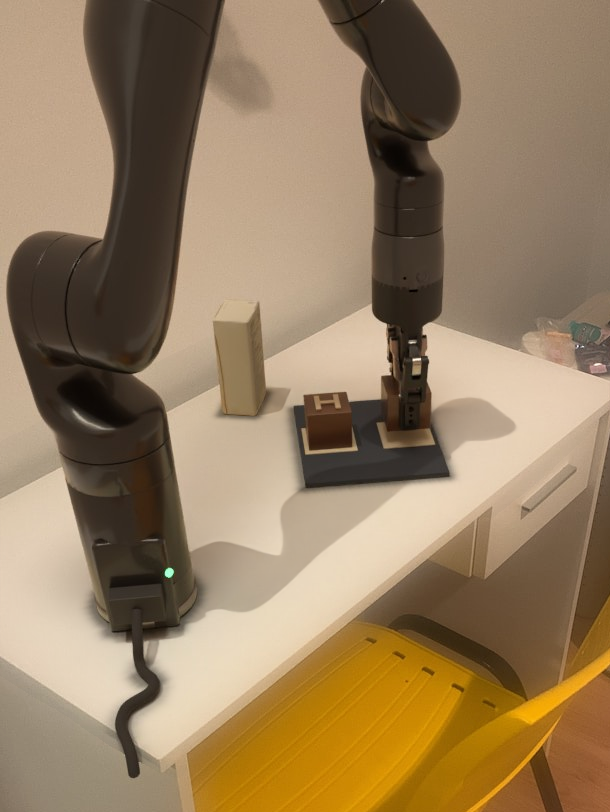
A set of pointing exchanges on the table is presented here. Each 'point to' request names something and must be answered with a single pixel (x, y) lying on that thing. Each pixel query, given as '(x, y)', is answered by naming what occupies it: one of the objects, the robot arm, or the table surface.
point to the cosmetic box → (240, 356)
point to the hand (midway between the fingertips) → (405, 416)
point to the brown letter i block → (392, 404)
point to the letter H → (328, 420)
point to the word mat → (371, 452)
